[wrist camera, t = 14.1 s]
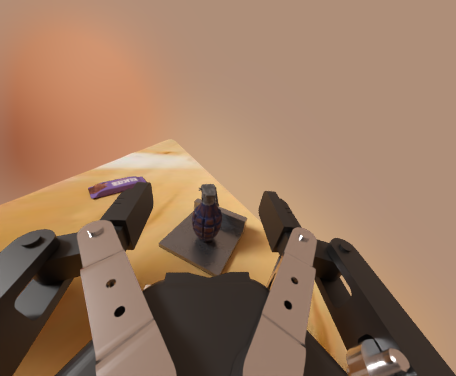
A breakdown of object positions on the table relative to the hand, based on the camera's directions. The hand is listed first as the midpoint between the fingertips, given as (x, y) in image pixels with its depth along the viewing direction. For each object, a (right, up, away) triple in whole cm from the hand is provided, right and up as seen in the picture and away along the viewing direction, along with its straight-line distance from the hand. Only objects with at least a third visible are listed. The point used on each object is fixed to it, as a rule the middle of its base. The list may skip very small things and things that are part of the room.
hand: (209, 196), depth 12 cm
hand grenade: (-3, -8, +17) cm, 19 cm away
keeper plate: (-3, -8, +18) cm, 20 cm away
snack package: (-25, 0, +28) cm, 37 cm away
